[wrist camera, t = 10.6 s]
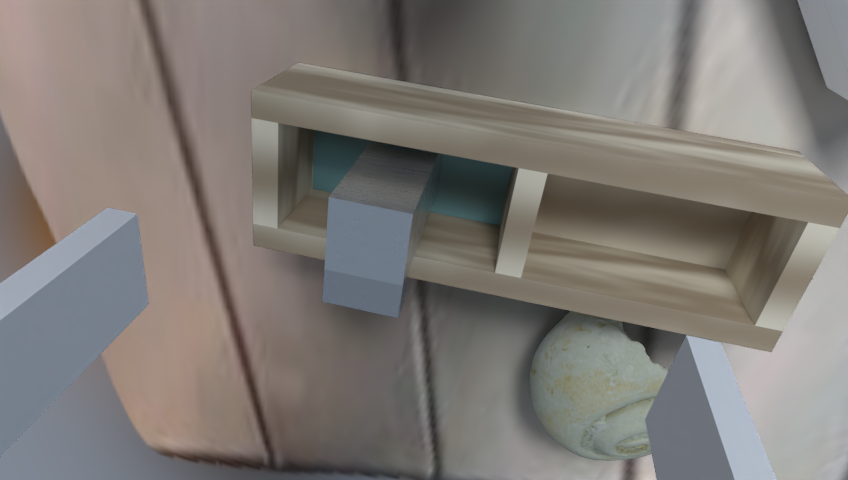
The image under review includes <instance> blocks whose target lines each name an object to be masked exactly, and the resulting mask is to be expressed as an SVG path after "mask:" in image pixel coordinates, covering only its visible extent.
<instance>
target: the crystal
mask: <svg viewBox="0 0 848 480" xmlns="http://www.w3.org/2000/svg"><path fill="white" fill-rule="evenodd" d="M797 1H798V4H799V7H800V10H801V13H802V16H803V19H804V22H805V24H806V27H807V30H808V33H809V36H810V39H811V42H812V45H813V48H814V51H815V54H816V57H817V60H818V63H819V66H820V69H821V72H822V75H823V78H824V81H825V84H826V87H827V88H828V89H830V90H832V91H833V92H835V93H837V94H838V95H840V96H842V97H843V98H845V99H846V100H848V0H797Z"/></svg>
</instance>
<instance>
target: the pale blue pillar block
mask: <svg viewBox="0 0 848 480" xmlns="http://www.w3.org/2000/svg"><path fill="white" fill-rule="evenodd" d="M442 157H443V154H441V153H436V152H430V151H425V150H419V149H414V148H409V147H403V146H398V145H393V144H387V143H382V142H377V141H371V142H370V143H369V145H368V146H367V147H366V149H365V150H364V151H363V153H362V154H361V155H360V157H359V158H358V159H357V161H356V162H355V163H354V165H353V166H352V167H351V168H350V170H349V171H348V172H347V174H346V175H345V176H344V178H343V179H342V180H341V182H340V183H339V184H338V186H337V187H336V188H335V190H334V191H333V192H332V194H331V195H330V196H329V201H328V218H327V234H326V251H325V267H324V284H323V301H322V302H326V303H331V304H335V305H340V306H345V307H349V308H354V309H358V310H363V311H368V312H372V313H377V314H382V315H386V316H391V317H395V318H398V317H399V314H400V312H401V309H402V306H403V303H404V298H405V291H406V285H407V278H408V271H409V268H410V265H411V262H412V260H413V257H414V254H415V251H416V249H417V246H418V243H419V241H420V238H421V235H422V233H423V230H424V227H425V225H426V222H427V219H428V216H429V214H430V211H431V208H432V206H433V203H434V200H435V198H436V195H437V188H438V182H439V176H440V170H441V164H442Z"/></svg>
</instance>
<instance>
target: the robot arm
mask: <svg viewBox="0 0 848 480" xmlns="http://www.w3.org/2000/svg"><path fill="white" fill-rule="evenodd" d="M148 304H149V303H148V295H147V287H146V279H145V271H144V263H143V255H142V247H141V240H140V232H139V224H138V216H137V214H135V213H130V212H126V211H121V210H116V209H112V208H106V209H105V210H103V211H102V212H101V213H99V214H98V215H96V216H95V217H93V218H92V219H91V220H89V221H88V222H86V223H85V224H84V225H82V226H81V227H79V228H78V229H76V230H75V231H74V232H72V233H71V234H69V235H68V236H67V237H65V238H64V239H62V240H61V241H60V242H58V243H57V244H55V245H54V246H53V247H51V248H50V249H48V250H47V251H45V252H44V253H43V254H41V255H40V256H38V257H37V258H35V259H34V260H33V261H32V262H30V263H28V264H27V265H26V266H24V267H23V268H21V269H20V270H19V271H17V272H16V273H14V274H13V275H11V276H10V277H9V278H7V279H6V280H5V281H3V282H2V283H0V456H1V455H2V454H3V453H4V452H5V451H6V450H7V449H8V448H9V447H10V446H11V445H12V444H13V443H14V442H15V441H16V440H17V439H18V438H19V437H20V436H21V435H22V434H23V433H24V432H25V431H26V430H27V429H28V428H29V427H30V426H31V425H32V424H33V423H34V421H35V420H36V419H37V418H38V417H39V416H40V415H41V414H42V413H43V412H44V411H45V410H46V409H47V408H48V407H49V406H50V405H51V404H52V403H53V402H54V401H55V400H56V399H57V398H58V397H59V396H60V395H61V394H62V393H63V392H64V391H65V390H66V389H67V388H68V387H69V385H71V383H73V381H74V380H75V379H76V378H77V377H78V376H79V375H80V374H81V373H82V372H83V371H84V370H85V369H86V368H87V367H88V366H89V365H90V364H91V363H92V362H93V361H94V360H95V359H96V358H97V357H98V356H99V355H100V354H101V353H102V352H103V351H104V350H105V349H106V348H107V347H108V346H109V344H110V343H111V342H112V341H113V340H114V339H115V338H116V337H117V336H118V335H119V334H120V333H121V332H122V331H123V330H124V329H125V328H126V327H127V326H128V325H129V324H130V323H131V322H132V321H133V320H134V319H135V318H136V317H137V316H138V315H139V314H140V313H141V312H142V311H143V310H144V309H145V307H146V306H147V305H148ZM645 422H646V427H647V432H648V438H649V443H650V448H651V453H652V458H653V463H654V468H655V473H656V478H657V480H777V479H776V477H775V475H774V472H773V470H772V467H771V465H770V462H769V460H768V457H767V455H766V452H765V450H764V447H763V445H762V443H761V440H760V438H759V435H758V433H757V430H756V428H755V425H754V423H753V420H752V418H751V415H750V413H749V411H748V408H747V406H746V403H745V401H744V398H743V396H742V393H741V391H740V388H739V386H738V384H737V381H736V379H735V376H734V374H733V371H732V369H731V366H730V364H729V361H728V359H727V356H726V354H725V352H724V349H723V347H722V344H721V343H720V342H715V341H711V340H706V339H702V338H697V337H693V336H688V335H686V337H685V339H684V341H683V343H682V345H681V347H680V349H679V351H678V353H677V355H676V357H675V359H674V361H673V363H672V365H671V367H670V369H669V371H668V373H667V375H666V377H665V380H664V382H663V384H662V386H661V388H660V390H659V392H658V394H657V396H656V398H655V400H654V402H653V404H652V406H651V408H650V410H649V412H648V414H647V416H646V418H645Z"/></svg>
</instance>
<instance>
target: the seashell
mask: <svg viewBox="0 0 848 480" xmlns="http://www.w3.org/2000/svg"><path fill="white" fill-rule="evenodd" d="M668 371H669V370H667V369H666V368H664V367H663V366H661V365H660V364H658V363H654V362H653V361H651V360H650V358H649V356H648V355H647V354H646V352H645V348H644V346H643V345H642V344H641V343H639V342H638V341H632V340H631V339H630V338H628V337H627V335H626V333H625V332H624V330H623V323H622V321H617V320H613V319H608V318H603V317H598V316H593V315H588V314H584V313H579V312H574V311H570V312H569V313H567V314H566V315H565V316H564V318H563V319H562V320H561V321H560V322H559V323H558V324H557V325H555V326H554V327H553V328H552V329H551V331H550V332H549V333H548V334H547V335H546V336H545V338H544V339H543V340H542V342H541V343H540V345H539V347H538V349H537V351H536V353H535V355H534V358H533V361H532V365H531V370H530V394H531V400H532V405H533V408H534V411H535V414H536V416H537V418H538V420H539V422H540V423H541V425H542V426H543V428H544V429H545V430H546V431H547V433H548V434H549V435H550V436H551V437H552V438H553V439H554V440H556V441H557V442H558V443H559V444H560V445H562V446H563V447H565V448H566V449H567V450H569V451H571V452H573V453H575V454H577V455H579V456H582V457H586V458H589V459H594V460H607V461H609V460H625V459H632V458H638V457H643V456H646V455H650V454H652V453H651V448H650V443H649V438H648V432H647V427H646V422H645V418H646V416H647V414H648V412H649V410H650V408H651V406H652V404H653V402H654V400H655V398H656V396H657V394H658V392H659V390H660V388H661V386H662V384H663V382H664V380H665V377H666V375H667V373H668Z"/></svg>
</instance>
